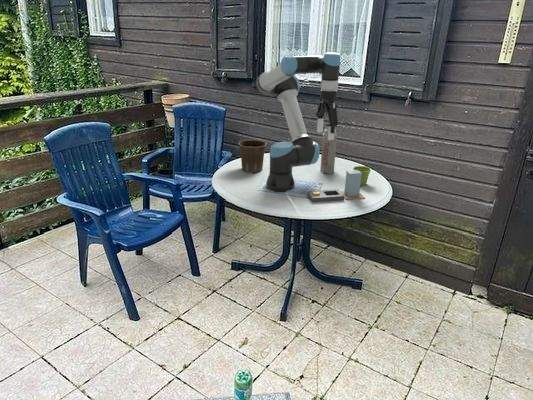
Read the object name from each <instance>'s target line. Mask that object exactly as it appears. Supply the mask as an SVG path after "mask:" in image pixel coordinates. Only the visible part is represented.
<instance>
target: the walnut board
mask: <svg viewBox="0 0 533 400" xmlns="http://www.w3.org/2000/svg"><path fill="white" fill-rule="evenodd" d="M339 191H340V190H339ZM344 191H345V190H343V191H340V192H341V193H342V194H343V195H344V201H345V200H346V201H353V200H366V197H365V196H364V195H363V194H362V193H361V192H359V196H352V197H347V196H346V195H345V194H344Z"/></svg>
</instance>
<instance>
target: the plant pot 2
mask: <svg viewBox="0 0 533 400" xmlns="http://www.w3.org/2000/svg"><path fill="white" fill-rule="evenodd" d="M352 170H358V171H360V172H361V173H362V174H361V183H360V186H366V185H367V183H368V179H369V175H370V172H371V171H372V168H370V167H368V166H365V165H364V166H363V165H356V166H354V167H353V168H352Z"/></svg>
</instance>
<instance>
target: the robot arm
mask: <svg viewBox="0 0 533 400" xmlns="http://www.w3.org/2000/svg"><path fill="white" fill-rule="evenodd" d="M340 69H341V54H340V53H339V52H338V53H337V52H324V54H323V56H322V55H319V54H313V55H306V56H305V55H302V56H301V55H297V56H296V55H289V56H284V57H282V59H281V62H280V64H278V65H277V66H276V67H274V68H273V69H271V70H269V71H264V72H262V73H261V74H260V75H258V76H257V79H256V88H257V89H258V91H259V92H260V93H261V94H263V95H265V96H276V98H277V100H278V101H279V102H281V105H282V109H283V113H284V116H285V119H286V124H287V126H288V129H289V133H290V137H291V141H278V142H276V143H273V144H272V145H271V146H270V149H269V174H268V176H267V180H266V182H265V183H266V185H265V187H266V189H268V190H269V191H272V192H279V193H285V192H287V191H290V190H292V189H294V188H295V186H296V182H295V179H294V175H293V168H295V167H296V168H297V167H302V166H303V167H304V166H310V165H315V164H316V163H317V162H318V160H319V158H320V153H321V152H320V151H321V149H320V145H319V144H318V142H316V141H313V139H312V136H310V135H309V134H308V131H307V128H306V125H305V122H304V119H303V115H302V112H301V108H300V105H299V102H298V97H297V96H298V95H299V91H300V89H301V88H300V85H301V84H300V80H299V77H298V76H297V75H301V74H302V75H303V74H304V75H305V74H319V75H321V80H320V89H321V90H320V93H319V94H320V95H319V103H318V106H317V110H316V113H315V116H316V117H317V121H316V122H317V125H316V133H324V130H323V128H324V120H325V119H324V118H325V114H326V113H327V116H328V122H329V123H328V124H329V131H328V140H334V133H335V130H336V127H338V126H339V121H338V120H339V119H338V111H337V105H338V104H337V103H336V102H334V100H337V98H338V86H339V84H340V82H339V79H340V78H339V77H340Z"/></svg>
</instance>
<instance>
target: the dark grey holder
mask: <svg viewBox="0 0 533 400" xmlns="http://www.w3.org/2000/svg"><path fill="white" fill-rule="evenodd" d="M306 195H307V197H308V199H309V200H310V201H311V202H312V203H323V202H337V201H345V199H344V195H343V194H342V193H341V192H340V190H339V189H337V188H334V189H321V190H320V189H319V190H307V191H306Z"/></svg>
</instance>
